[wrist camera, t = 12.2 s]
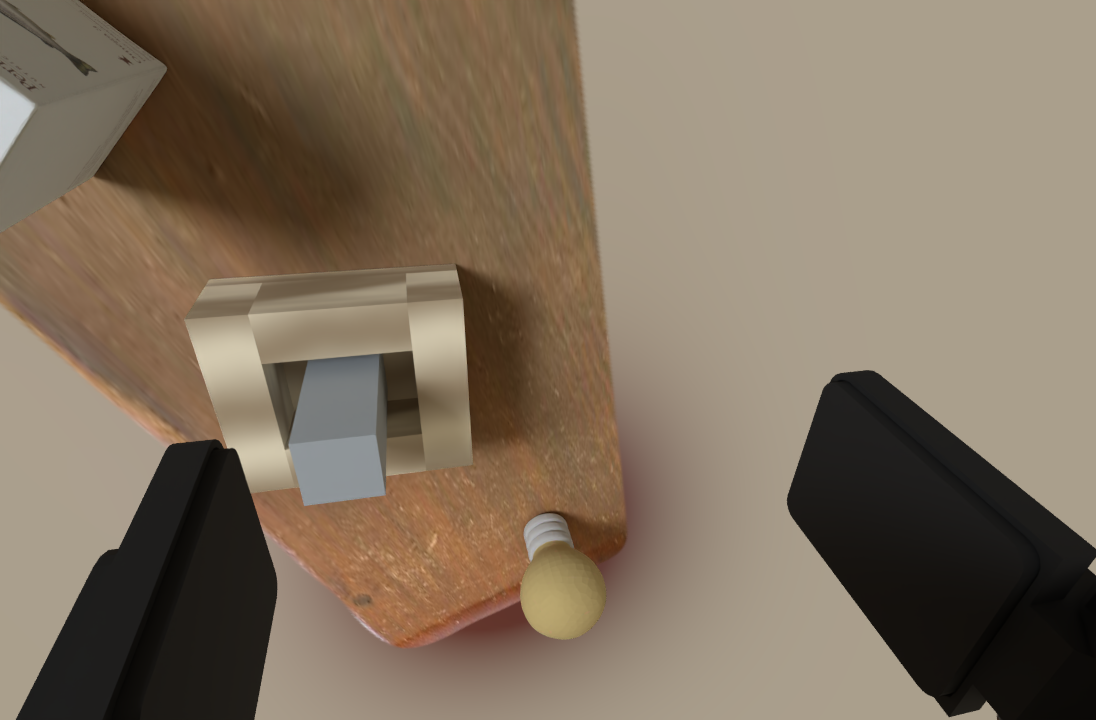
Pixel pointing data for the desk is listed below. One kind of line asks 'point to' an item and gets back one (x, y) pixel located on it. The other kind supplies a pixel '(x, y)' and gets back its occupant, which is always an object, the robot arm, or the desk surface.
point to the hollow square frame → (328, 332)
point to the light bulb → (559, 581)
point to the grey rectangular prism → (341, 429)
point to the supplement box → (62, 99)
